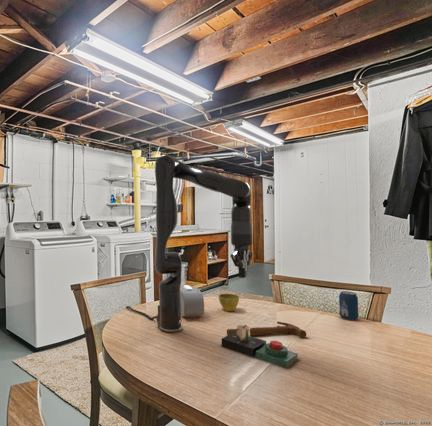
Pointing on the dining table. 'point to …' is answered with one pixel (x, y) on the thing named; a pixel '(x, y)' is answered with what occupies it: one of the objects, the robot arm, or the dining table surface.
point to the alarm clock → (191, 301)
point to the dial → (243, 333)
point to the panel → (243, 344)
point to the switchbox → (277, 355)
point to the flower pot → (228, 301)
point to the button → (276, 345)
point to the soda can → (348, 305)
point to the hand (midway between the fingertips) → (242, 277)
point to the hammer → (273, 330)
